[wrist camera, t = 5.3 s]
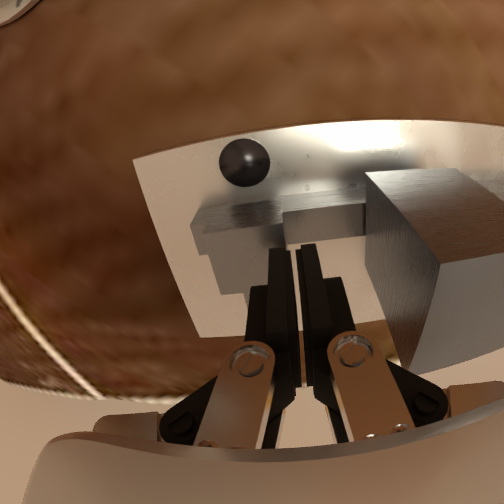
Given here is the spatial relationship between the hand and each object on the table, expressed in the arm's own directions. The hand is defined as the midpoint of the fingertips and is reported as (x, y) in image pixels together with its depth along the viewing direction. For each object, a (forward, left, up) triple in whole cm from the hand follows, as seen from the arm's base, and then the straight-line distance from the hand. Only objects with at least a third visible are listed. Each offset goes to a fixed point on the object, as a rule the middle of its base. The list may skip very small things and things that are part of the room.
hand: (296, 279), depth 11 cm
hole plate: (+2, +9, -7) cm, 12 cm away
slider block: (+2, +6, -6) cm, 8 cm away
